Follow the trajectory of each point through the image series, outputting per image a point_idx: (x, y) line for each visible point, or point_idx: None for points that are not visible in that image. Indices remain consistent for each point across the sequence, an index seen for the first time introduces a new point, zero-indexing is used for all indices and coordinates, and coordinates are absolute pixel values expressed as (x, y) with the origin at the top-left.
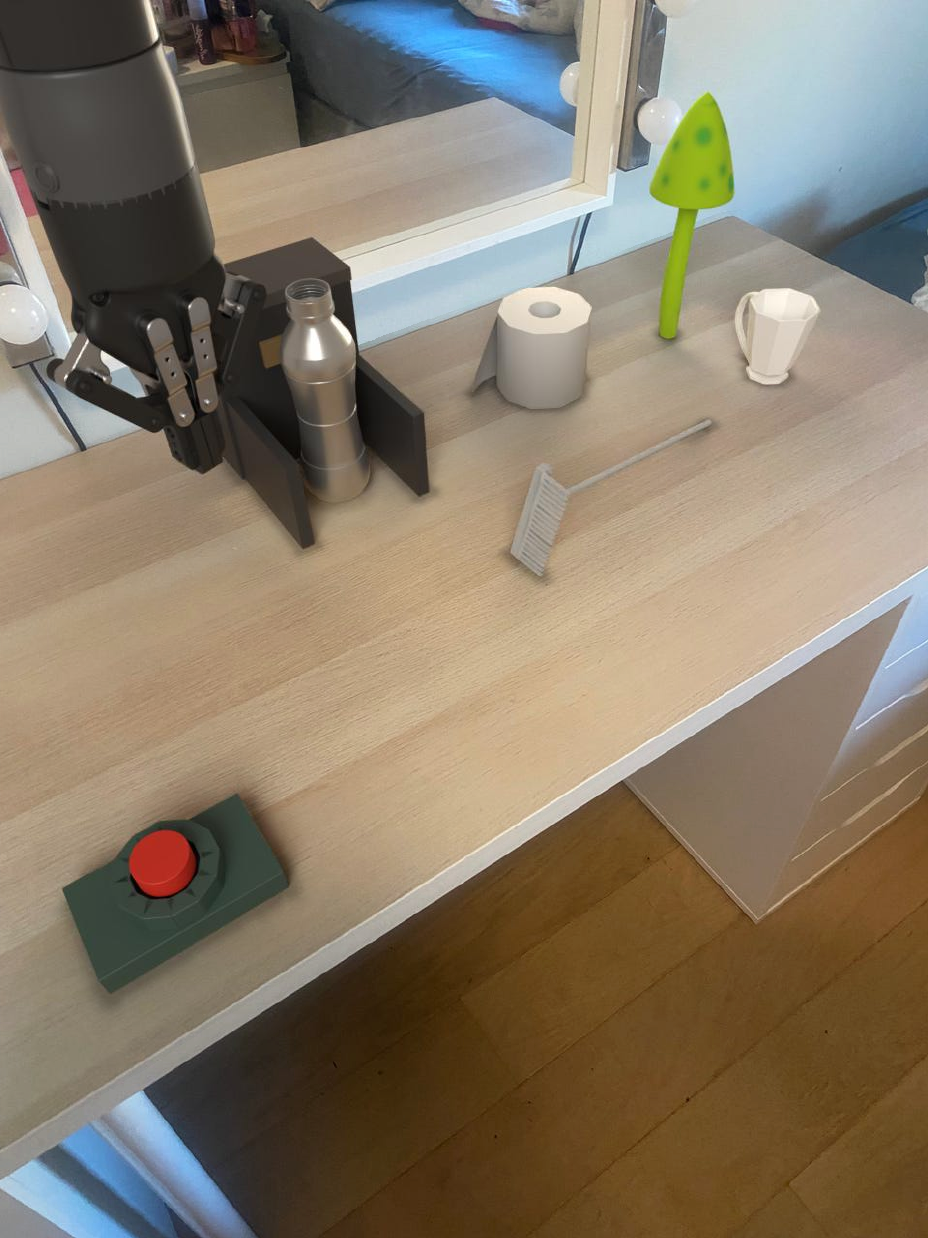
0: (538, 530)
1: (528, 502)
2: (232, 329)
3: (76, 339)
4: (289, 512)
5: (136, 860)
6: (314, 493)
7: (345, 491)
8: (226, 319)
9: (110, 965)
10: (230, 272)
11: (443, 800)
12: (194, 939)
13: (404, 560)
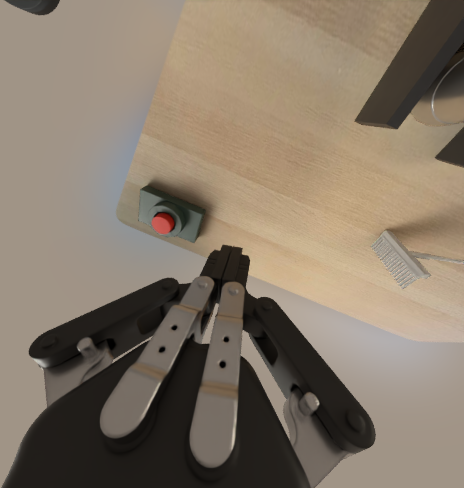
0: (390, 255)
1: (405, 256)
2: (281, 381)
3: (48, 404)
4: (372, 108)
5: (154, 220)
6: None
7: (418, 120)
8: (290, 383)
9: (142, 220)
10: (359, 449)
11: None
12: None
13: (363, 185)
